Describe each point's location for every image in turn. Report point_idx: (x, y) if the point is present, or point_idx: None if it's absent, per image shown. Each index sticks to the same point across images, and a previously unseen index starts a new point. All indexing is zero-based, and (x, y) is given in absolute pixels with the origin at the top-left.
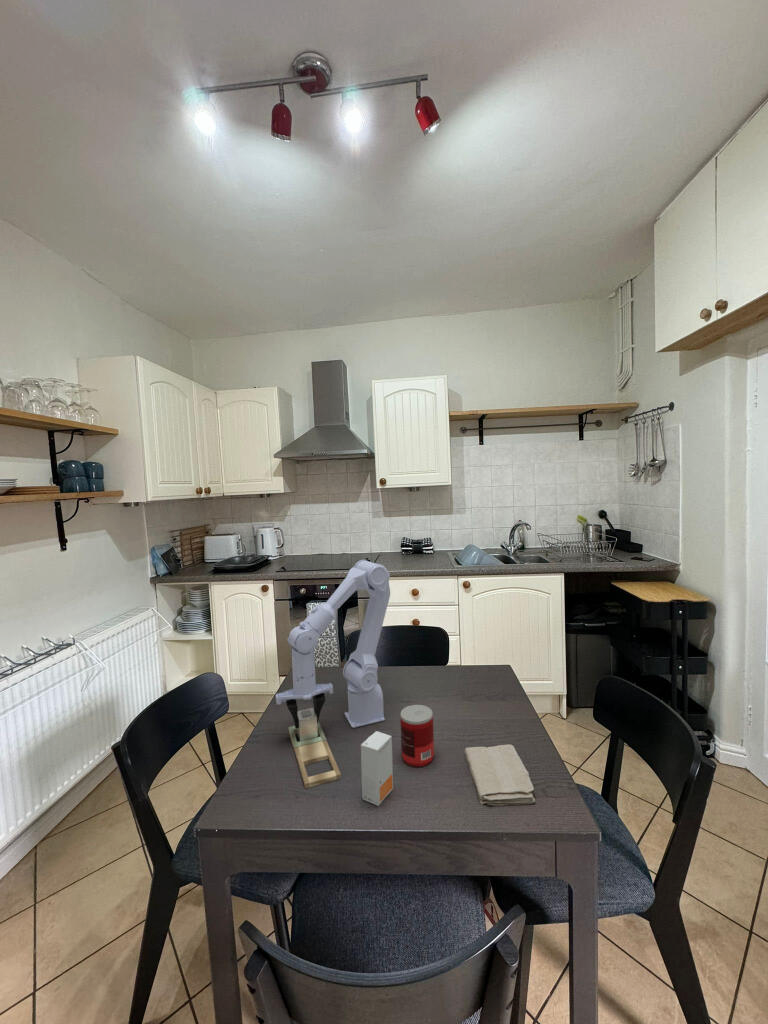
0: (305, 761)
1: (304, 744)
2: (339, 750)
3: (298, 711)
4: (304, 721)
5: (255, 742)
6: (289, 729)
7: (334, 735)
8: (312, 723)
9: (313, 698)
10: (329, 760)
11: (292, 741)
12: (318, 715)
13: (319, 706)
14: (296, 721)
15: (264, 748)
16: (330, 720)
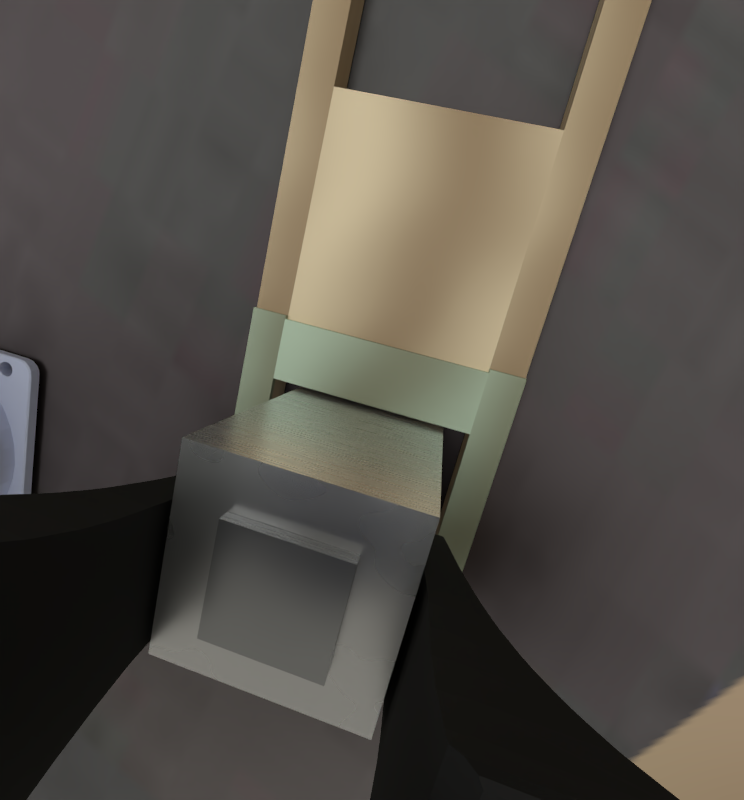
0: (539, 129)
1: (434, 362)
2: (223, 165)
3: (344, 717)
4: (368, 476)
5: (711, 699)
6: None
7: (178, 373)
8: (283, 431)
9: (4, 789)
10: (350, 38)
11: (489, 484)
12: (160, 483)
13: (17, 513)
14: (443, 570)
15: (695, 581)
16: None
